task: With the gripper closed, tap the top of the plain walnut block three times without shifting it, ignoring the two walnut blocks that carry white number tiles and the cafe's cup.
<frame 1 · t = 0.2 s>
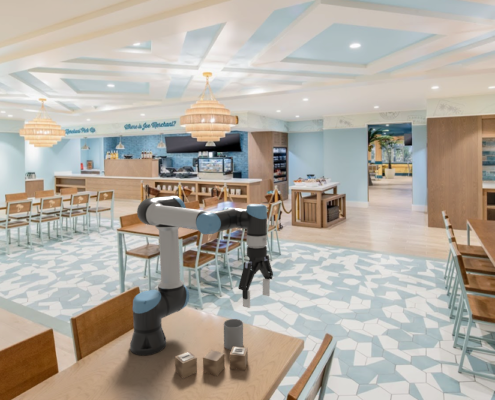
hand: (256, 300, 130), 27 cm above the table, fingers open, 13 cm apart
cup: (233, 345, 151), on the table
plain block: (214, 370, 132), on the table
numbered block b: (238, 365, 136), on the table
numbered block a: (186, 371, 131), on the table
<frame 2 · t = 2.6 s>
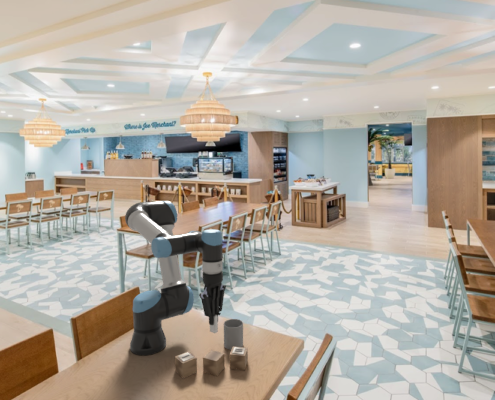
hand: (213, 331, 131), 16 cm above the table, fingers closed
nothing on the table moved.
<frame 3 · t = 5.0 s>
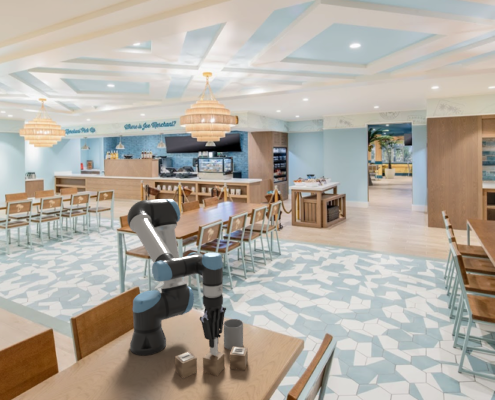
hand: (213, 353, 132), 7 cm above the table, fingers closed
nothing on the table moved.
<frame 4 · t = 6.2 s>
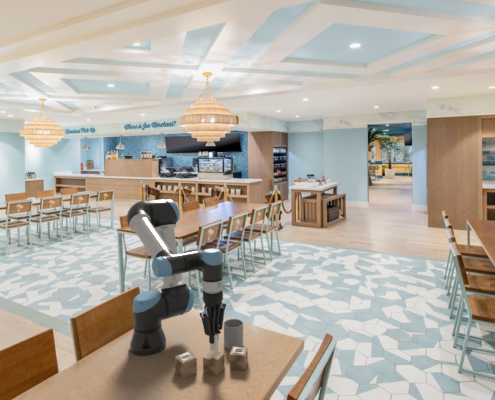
hand: (214, 350, 131), 8 cm above the table, fingers closed
nothing on the table moved.
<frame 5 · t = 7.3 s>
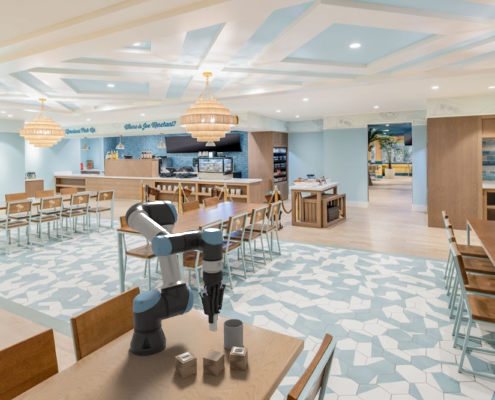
hand: (213, 330, 131), 16 cm above the table, fingers closed
nothing on the table moved.
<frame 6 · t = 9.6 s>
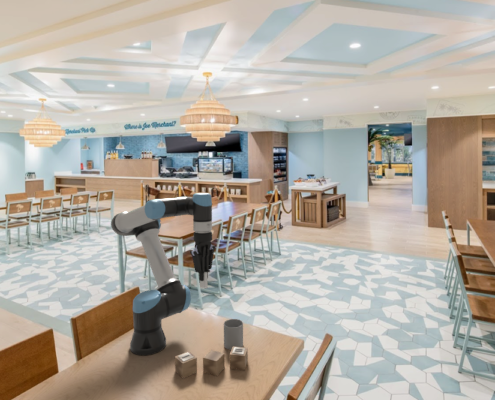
hand: (203, 287, 142), 28 cm above the table, fingers closed
nothing on the table moved.
at the end: plain block moved 0.1 cm from its start; plain block tilted 0°; plain block touching table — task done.
